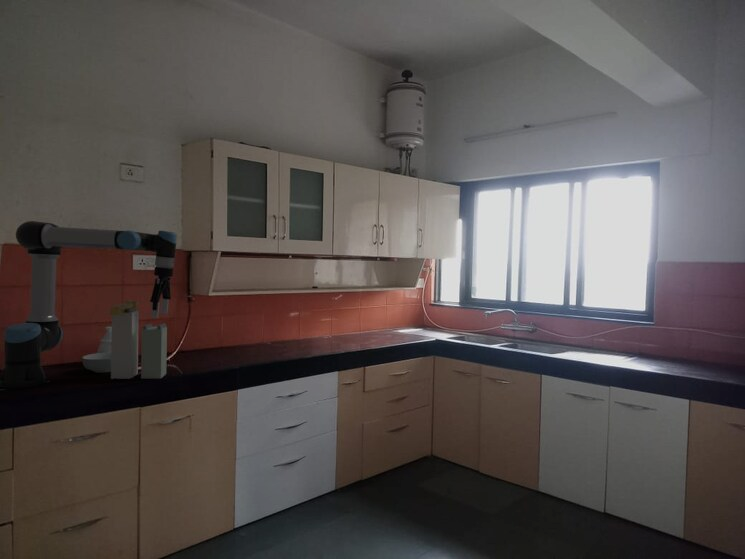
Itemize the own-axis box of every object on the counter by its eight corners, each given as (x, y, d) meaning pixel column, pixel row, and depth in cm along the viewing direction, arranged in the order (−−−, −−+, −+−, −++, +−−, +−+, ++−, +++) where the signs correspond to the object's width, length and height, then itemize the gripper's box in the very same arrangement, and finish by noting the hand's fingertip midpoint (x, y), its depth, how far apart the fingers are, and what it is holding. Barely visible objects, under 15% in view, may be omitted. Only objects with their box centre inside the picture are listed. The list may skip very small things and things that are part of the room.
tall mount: (110, 378, 210) (111, 309, 209) (118, 373, 219) (119, 307, 218) (131, 378, 212) (132, 309, 211) (137, 373, 220) (138, 307, 219)
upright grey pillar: (141, 378, 212) (141, 325, 211) (147, 373, 221) (148, 323, 220) (160, 378, 213) (161, 326, 213) (166, 373, 222) (167, 323, 222)
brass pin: (108, 316, 201) (108, 305, 201) (127, 310, 223) (127, 300, 223) (120, 316, 201) (120, 305, 201) (137, 310, 224) (137, 300, 224)
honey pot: (110, 367, 230) (111, 329, 230) (89, 365, 234) (89, 327, 234) (132, 362, 242) (133, 325, 242) (111, 360, 247) (112, 324, 246)
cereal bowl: (119, 365, 236) (119, 350, 236) (129, 372, 223) (130, 356, 223) (78, 369, 225) (78, 354, 224) (87, 377, 212) (87, 360, 212)
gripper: (164, 269, 203) (159, 320, 204) (180, 267, 228) (175, 312, 229) (145, 266, 202) (140, 318, 203) (163, 265, 227) (158, 311, 228)
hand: (159, 315), depth 216 cm, fingers open, 13 cm apart
